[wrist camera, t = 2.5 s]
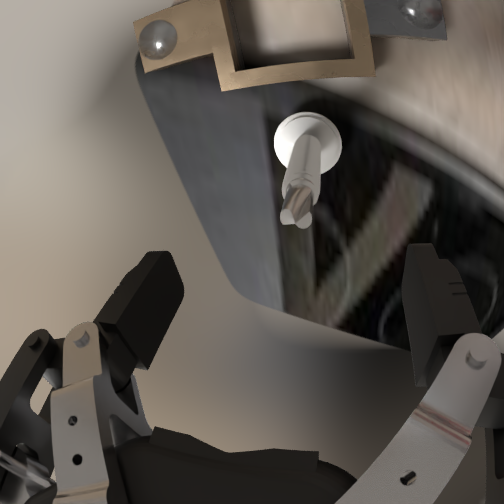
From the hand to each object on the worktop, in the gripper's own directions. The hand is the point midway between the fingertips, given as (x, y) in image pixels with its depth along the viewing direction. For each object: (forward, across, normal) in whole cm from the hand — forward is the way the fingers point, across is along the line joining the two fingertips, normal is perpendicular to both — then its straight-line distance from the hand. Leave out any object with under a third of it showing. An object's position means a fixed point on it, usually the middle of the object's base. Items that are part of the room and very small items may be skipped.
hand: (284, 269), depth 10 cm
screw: (+16, 0, 0) cm, 16 cm away
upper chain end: (+16, +3, -10) cm, 19 cm away
